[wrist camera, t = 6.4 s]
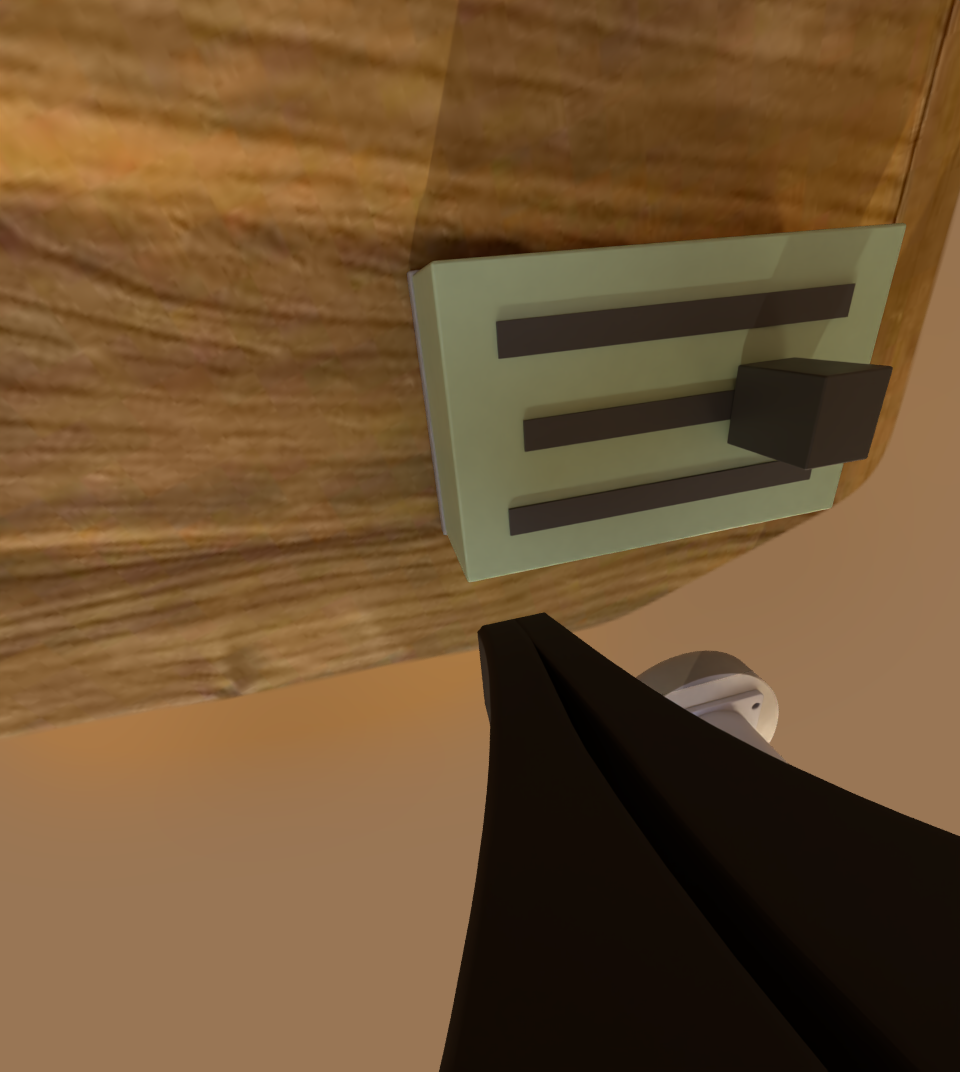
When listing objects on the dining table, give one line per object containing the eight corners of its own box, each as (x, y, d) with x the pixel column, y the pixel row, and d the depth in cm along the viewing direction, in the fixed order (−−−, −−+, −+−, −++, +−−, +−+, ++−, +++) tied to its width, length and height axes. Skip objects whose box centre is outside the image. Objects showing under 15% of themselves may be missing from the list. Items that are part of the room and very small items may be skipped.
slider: (779, 434, 15) (868, 459, 13) (726, 443, 15) (805, 471, 12) (795, 356, 14) (895, 365, 12) (737, 364, 14) (827, 376, 11)
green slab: (745, 474, 22) (836, 511, 17) (442, 530, 19) (465, 588, 15) (786, 240, 17) (916, 217, 13) (406, 271, 15) (425, 255, 11)
